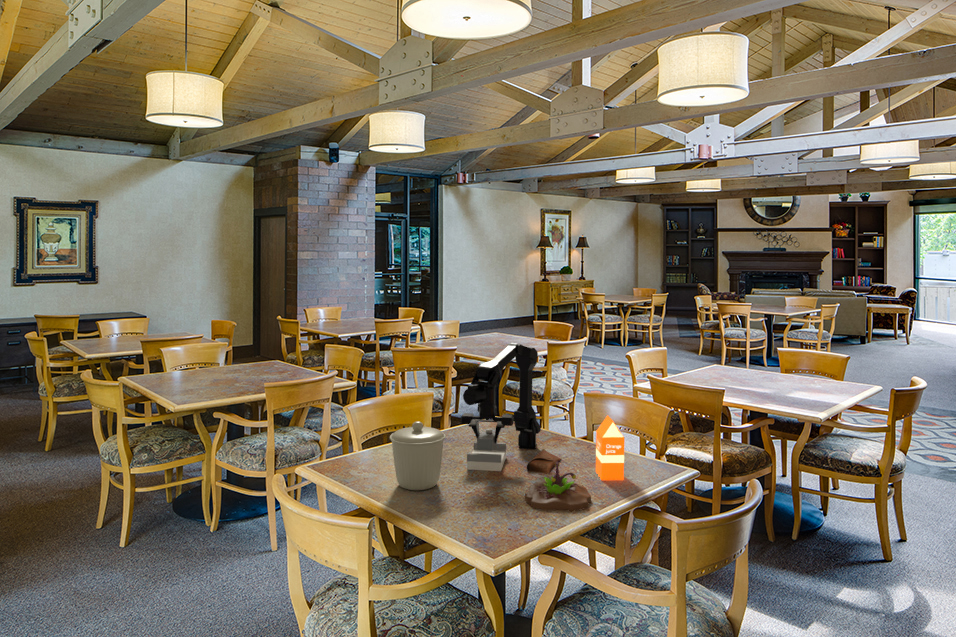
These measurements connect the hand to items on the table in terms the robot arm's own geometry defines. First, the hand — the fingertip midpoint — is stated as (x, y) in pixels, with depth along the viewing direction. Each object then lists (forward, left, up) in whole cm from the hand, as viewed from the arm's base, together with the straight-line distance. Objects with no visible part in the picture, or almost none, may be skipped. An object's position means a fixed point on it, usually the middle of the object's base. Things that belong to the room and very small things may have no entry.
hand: (487, 442), depth 227 cm
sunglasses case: (-21, -1, -8) cm, 22 cm away
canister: (+19, +26, -8) cm, 33 cm away
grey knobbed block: (0, 0, -1) cm, 1 cm away
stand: (0, 0, -8) cm, 8 cm away
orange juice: (-43, +7, -8) cm, 44 cm away
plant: (-26, +31, -8) cm, 41 cm away
